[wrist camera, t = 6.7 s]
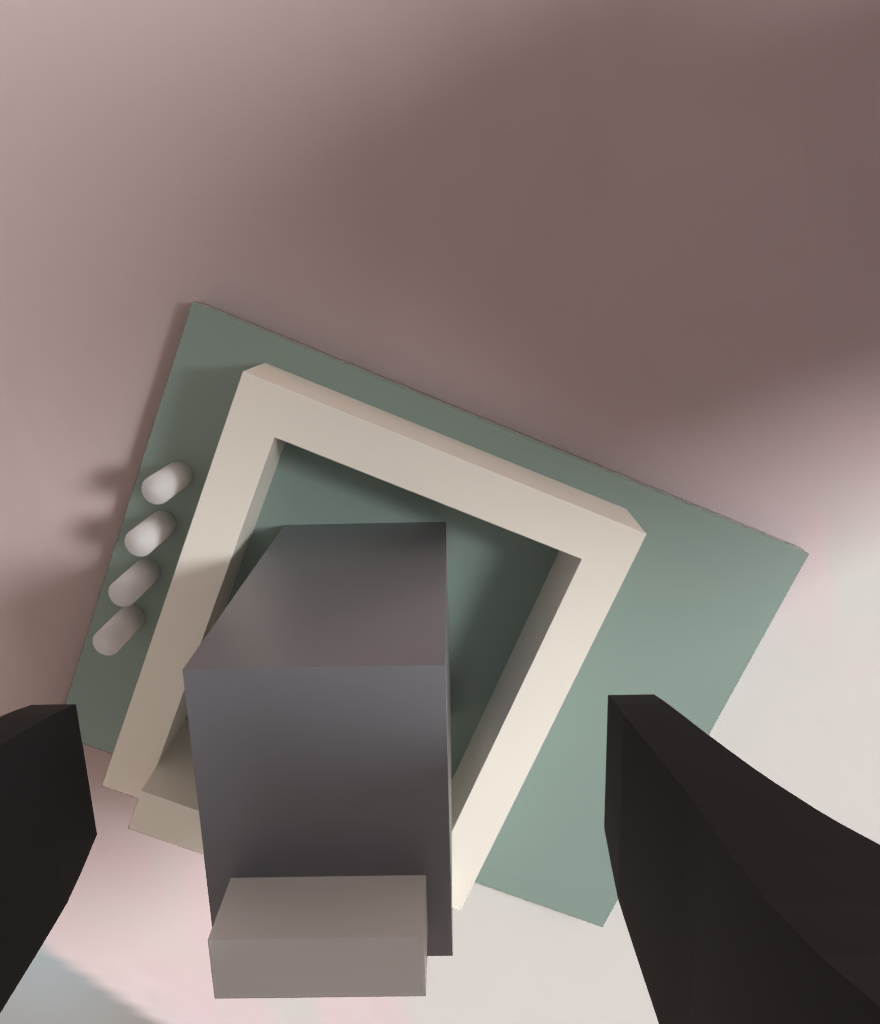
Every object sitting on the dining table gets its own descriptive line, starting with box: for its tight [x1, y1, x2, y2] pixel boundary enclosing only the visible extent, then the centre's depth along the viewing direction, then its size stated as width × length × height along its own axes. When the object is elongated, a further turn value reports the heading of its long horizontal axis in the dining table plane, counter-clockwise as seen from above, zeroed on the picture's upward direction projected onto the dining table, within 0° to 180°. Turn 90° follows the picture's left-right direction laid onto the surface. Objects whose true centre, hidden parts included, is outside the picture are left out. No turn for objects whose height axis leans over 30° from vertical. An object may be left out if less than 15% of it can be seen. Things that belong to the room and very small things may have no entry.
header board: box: [65, 302, 808, 927], centre depth 15 cm, size 12×9×3 cm
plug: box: [182, 522, 453, 999], centre depth 12 cm, size 3×4×7 cm
